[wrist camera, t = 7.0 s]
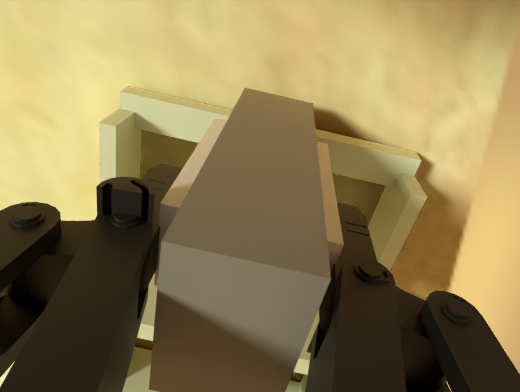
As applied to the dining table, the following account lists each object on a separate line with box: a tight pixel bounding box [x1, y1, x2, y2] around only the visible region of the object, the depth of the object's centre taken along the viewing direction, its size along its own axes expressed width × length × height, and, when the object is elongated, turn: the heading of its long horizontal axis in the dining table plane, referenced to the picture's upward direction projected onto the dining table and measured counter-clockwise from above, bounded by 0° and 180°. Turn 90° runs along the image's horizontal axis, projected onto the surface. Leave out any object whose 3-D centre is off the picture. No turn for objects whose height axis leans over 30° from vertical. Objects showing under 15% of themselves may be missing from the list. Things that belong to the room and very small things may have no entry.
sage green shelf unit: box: [99, 86, 427, 392], centre depth 17 cm, size 21×14×12 cm, turn 168°
